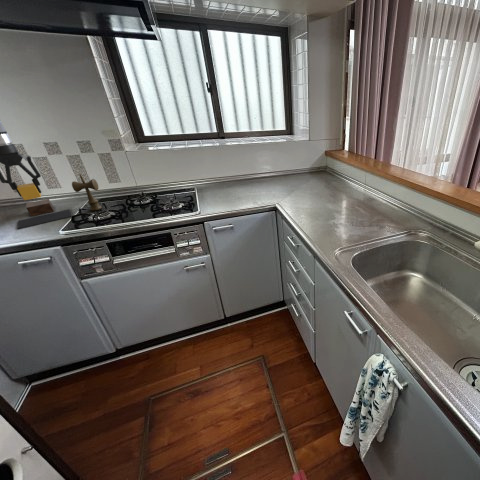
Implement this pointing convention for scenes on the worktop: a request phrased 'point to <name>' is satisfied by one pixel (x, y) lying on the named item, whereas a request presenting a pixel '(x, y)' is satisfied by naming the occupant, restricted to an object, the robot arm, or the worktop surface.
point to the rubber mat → (43, 219)
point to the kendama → (88, 192)
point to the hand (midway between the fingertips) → (30, 193)
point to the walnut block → (39, 207)
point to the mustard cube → (28, 191)
